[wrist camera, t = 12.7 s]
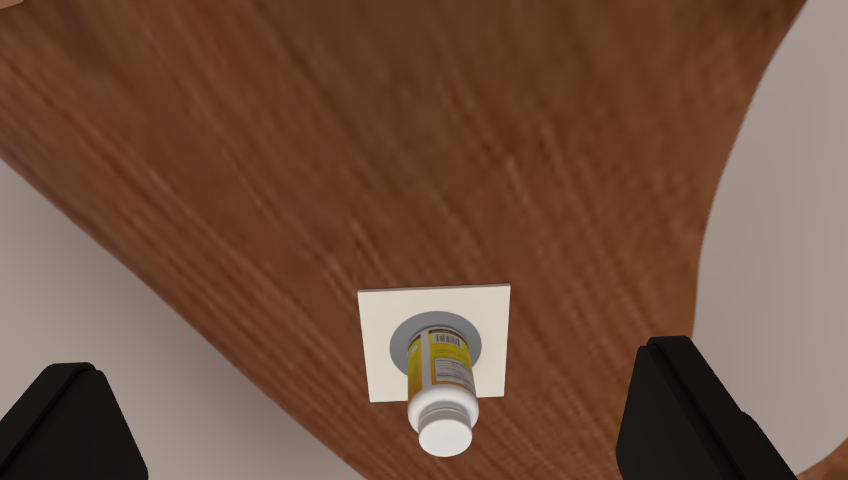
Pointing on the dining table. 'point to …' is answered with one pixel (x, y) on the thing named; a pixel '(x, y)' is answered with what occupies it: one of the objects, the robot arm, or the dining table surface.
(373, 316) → the card
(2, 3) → the salt shaker
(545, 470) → the dining table surface
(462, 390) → the supplement bottle
